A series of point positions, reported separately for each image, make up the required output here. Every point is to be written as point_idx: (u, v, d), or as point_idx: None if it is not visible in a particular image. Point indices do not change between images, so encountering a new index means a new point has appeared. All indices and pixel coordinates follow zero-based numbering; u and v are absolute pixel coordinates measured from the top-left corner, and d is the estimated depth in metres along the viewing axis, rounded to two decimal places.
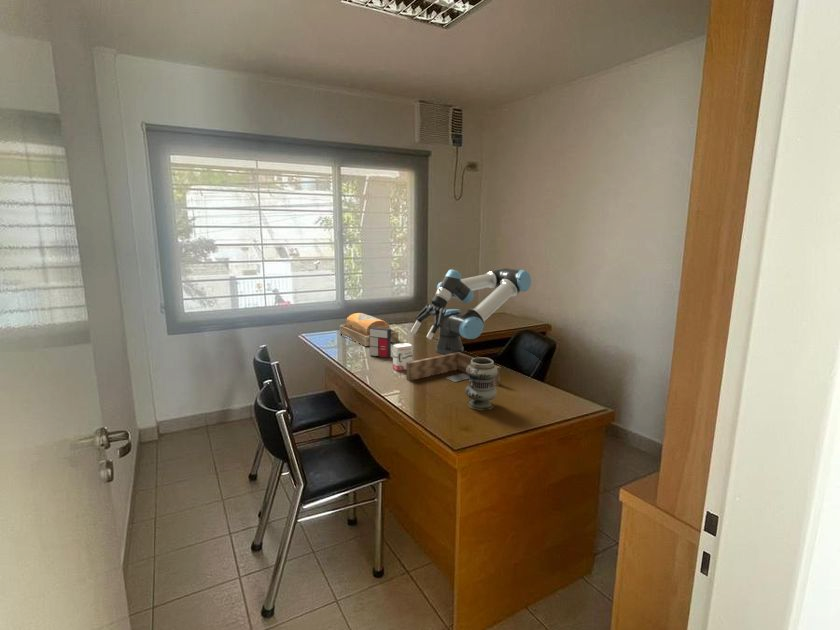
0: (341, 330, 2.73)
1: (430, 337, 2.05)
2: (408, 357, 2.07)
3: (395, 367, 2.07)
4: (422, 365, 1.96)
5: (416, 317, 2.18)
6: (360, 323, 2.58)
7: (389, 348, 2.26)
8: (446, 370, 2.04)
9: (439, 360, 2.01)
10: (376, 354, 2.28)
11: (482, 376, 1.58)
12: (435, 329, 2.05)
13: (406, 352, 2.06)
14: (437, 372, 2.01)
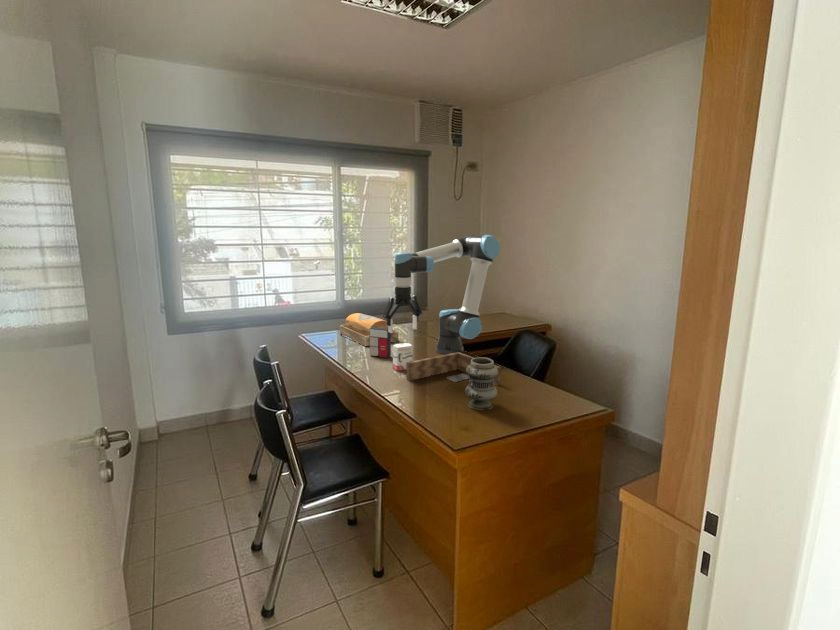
0: (341, 330, 2.73)
1: (390, 330, 2.01)
2: (408, 357, 2.07)
3: (395, 367, 2.07)
4: (422, 365, 1.96)
5: (416, 312, 2.10)
6: (361, 323, 2.57)
7: (389, 348, 2.26)
8: (446, 370, 2.04)
9: (439, 360, 2.01)
10: (376, 354, 2.28)
11: (482, 376, 1.58)
12: (387, 321, 2.00)
13: (406, 352, 2.06)
14: (437, 372, 2.01)
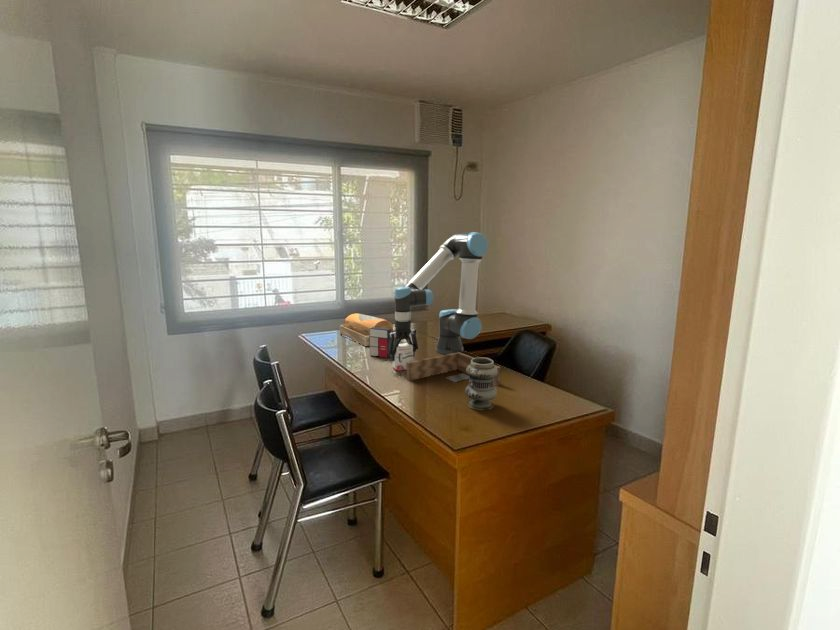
0: (341, 330, 2.73)
1: (394, 365, 2.06)
2: (408, 357, 2.07)
3: None
4: (422, 365, 1.96)
5: (413, 346, 2.12)
6: (363, 323, 2.57)
7: None
8: (446, 370, 2.04)
9: (439, 360, 2.01)
10: (376, 354, 2.28)
11: (482, 376, 1.58)
12: (391, 357, 2.05)
13: (406, 352, 2.06)
14: (437, 372, 2.01)
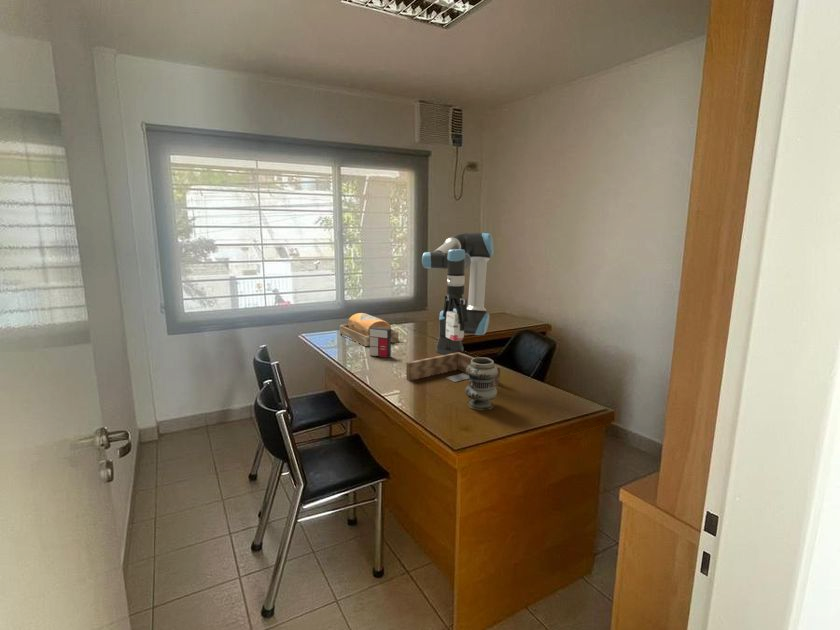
0: (341, 330, 2.73)
1: (462, 335, 1.89)
2: None
3: None
4: (422, 365, 1.96)
5: (444, 315, 1.97)
6: (362, 323, 2.57)
7: (389, 348, 2.26)
8: (446, 370, 2.04)
9: (439, 360, 2.01)
10: (376, 354, 2.28)
11: (482, 376, 1.58)
12: (462, 326, 1.87)
13: None
14: (437, 372, 2.01)
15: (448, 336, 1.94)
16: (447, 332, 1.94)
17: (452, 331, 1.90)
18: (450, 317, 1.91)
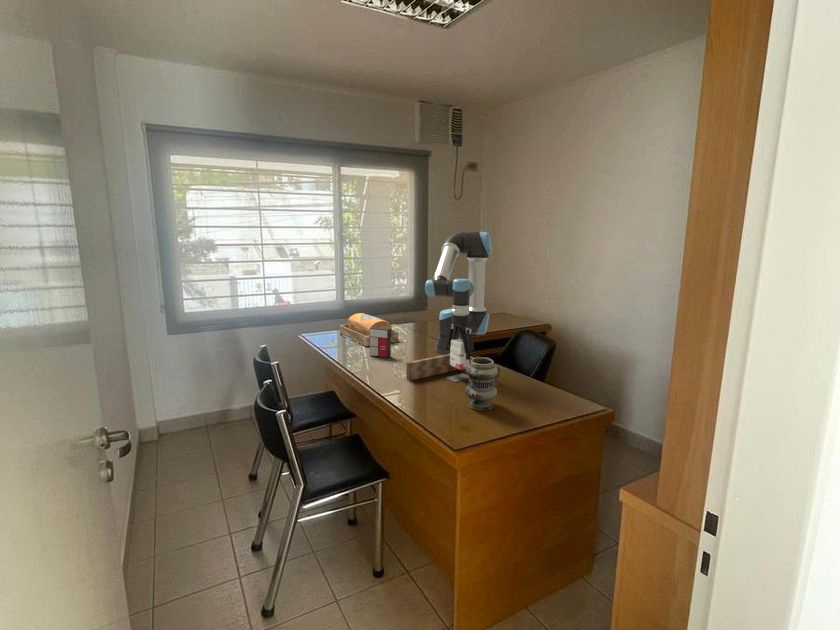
0: (341, 330, 2.73)
1: (467, 364, 1.91)
2: None
3: None
4: (422, 365, 1.96)
5: (448, 343, 1.99)
6: (362, 323, 2.57)
7: (389, 348, 2.26)
8: (446, 370, 2.04)
9: (439, 360, 2.01)
10: (376, 354, 2.28)
11: (482, 376, 1.58)
12: (468, 355, 1.89)
13: None
14: (437, 372, 2.01)
15: (453, 364, 1.95)
16: (452, 360, 1.96)
17: (457, 360, 1.92)
18: (456, 346, 1.92)
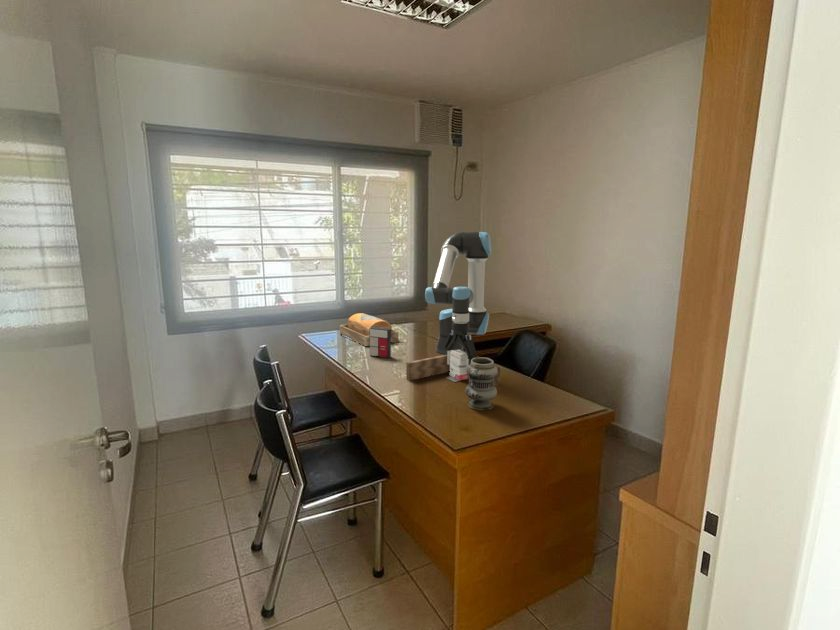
0: (341, 330, 2.73)
1: None
2: None
3: (465, 376, 1.93)
4: (422, 365, 1.96)
5: (445, 347, 2.01)
6: (362, 323, 2.57)
7: (389, 348, 2.26)
8: (446, 370, 2.04)
9: (439, 360, 2.01)
10: (376, 354, 2.28)
11: (482, 376, 1.58)
12: None
13: None
14: (437, 372, 2.01)
15: (453, 375, 1.96)
16: (451, 371, 1.97)
17: (457, 371, 1.93)
18: (455, 357, 1.93)
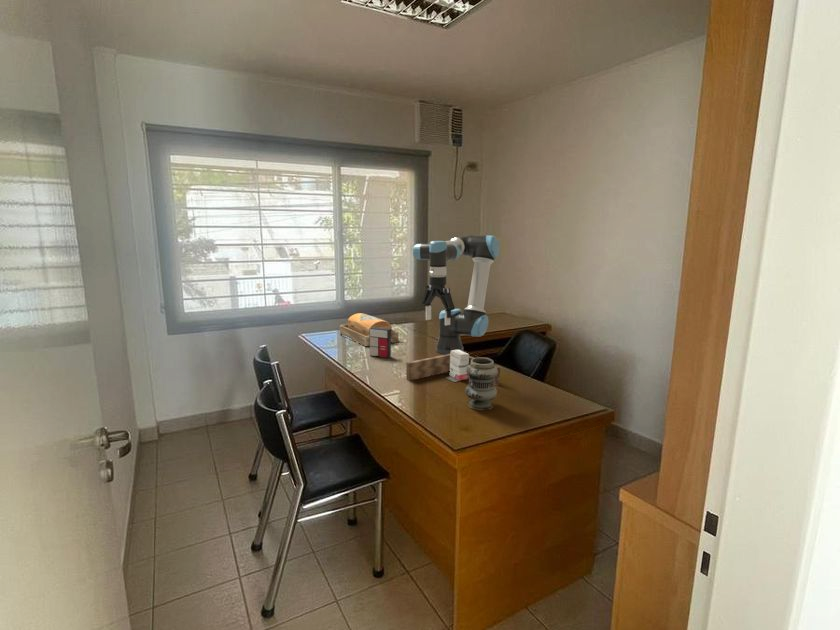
0: (341, 330, 2.73)
1: (448, 322, 1.93)
2: None
3: (465, 376, 1.93)
4: (422, 365, 1.96)
5: (423, 302, 2.03)
6: (362, 323, 2.56)
7: (389, 348, 2.26)
8: (446, 370, 2.04)
9: (439, 360, 2.01)
10: (376, 354, 2.28)
11: (482, 376, 1.58)
12: (449, 313, 1.91)
13: None
14: (437, 372, 2.01)
15: (453, 375, 1.96)
16: (451, 371, 1.97)
17: (457, 371, 1.93)
18: (455, 357, 1.93)
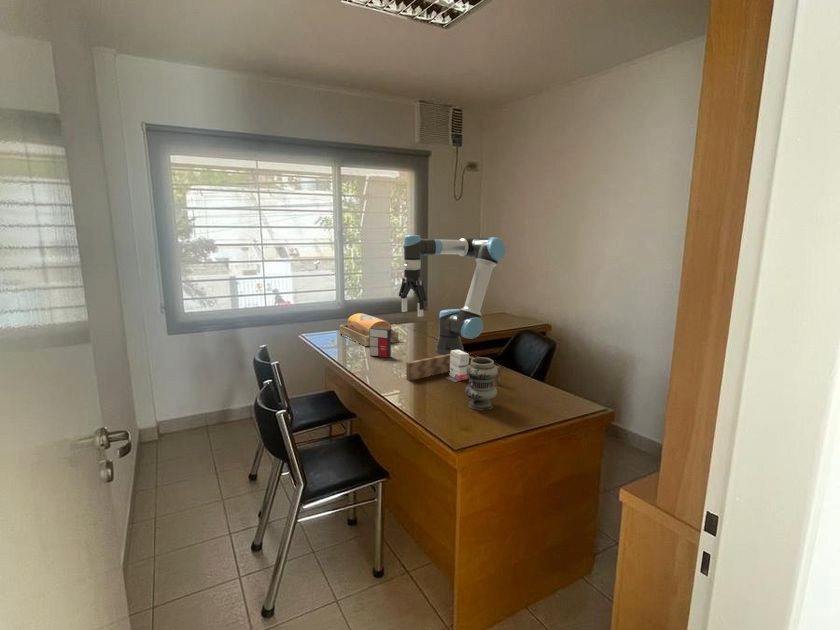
0: (341, 330, 2.73)
1: (421, 314, 1.99)
2: None
3: (465, 376, 1.93)
4: (422, 365, 1.96)
5: (400, 295, 2.10)
6: (362, 323, 2.56)
7: (389, 348, 2.26)
8: (446, 370, 2.04)
9: (439, 360, 2.01)
10: (376, 354, 2.28)
11: (482, 376, 1.58)
12: (422, 305, 1.97)
13: None
14: (437, 372, 2.01)
15: (453, 375, 1.96)
16: (451, 371, 1.97)
17: (457, 371, 1.93)
18: (455, 357, 1.93)
